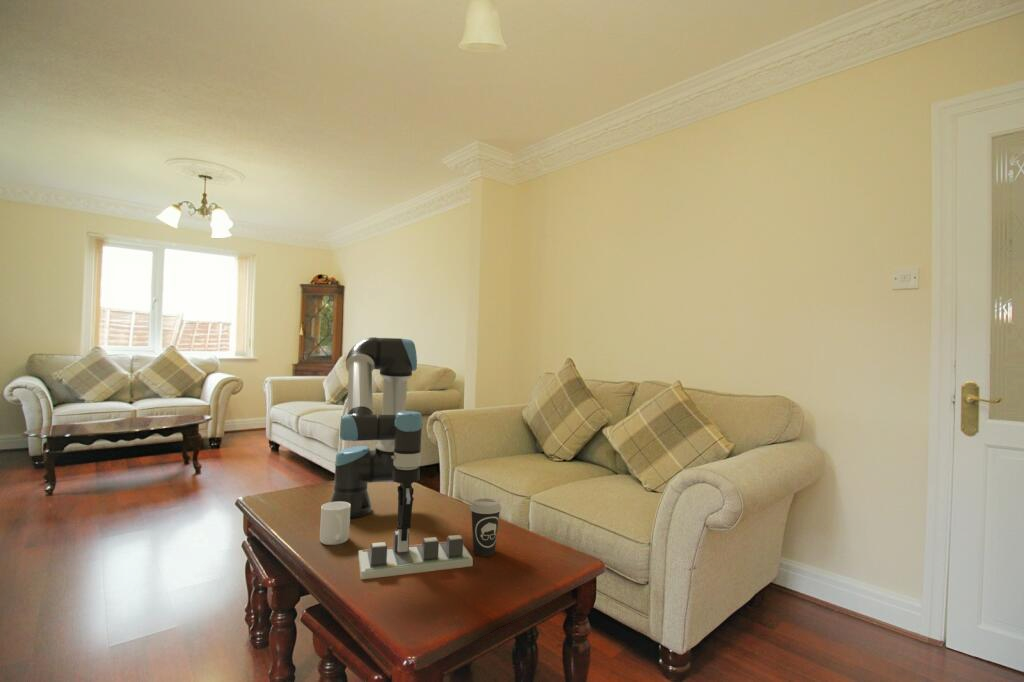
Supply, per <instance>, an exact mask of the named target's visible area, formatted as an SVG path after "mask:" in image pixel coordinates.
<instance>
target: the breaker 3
mask: <svg viewBox="0 0 1024 682" xmlns="http://www.w3.org/2000/svg"><path fill="white" fill-rule="evenodd" d="M421 542H422V543H421V544H422V557H423V559H433V558H438V549H439V542H440V541H439V539H438V538H437V536H434V537H424V538H422V541H421Z"/></svg>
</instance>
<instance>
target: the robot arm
mask: <svg viewBox="0 0 1024 682" xmlns="http://www.w3.org/2000/svg"><path fill="white" fill-rule="evenodd" d="M417 357H418V355H417V348H416V345H415V342H414V341H413V340H412V339H407V338H402V337H401V338H398V337H397V338H396V337H395V338H393V337H391V338H390V337H368V338H367V337H366V338H364V339H362V340H360V341H358V342H357V343H356V344H355V345H353V346H352V347H351V349H350V350H349V351H348V353H347V355H346V359H345V370H346V371H347V373H348V374H347V376H348V380H347V381H348V383H347V414H343V415H341V416H340V425H339V427H340V428H339V438H340V440H341V441H351V442H358V441H359V442H360V441H363V442H365V441H378V442H377V444H376V445H375V447H374V448H375V450H373V449H372V450H370V447H369V446H367V445H359V446H358V445H357V446H351V447H350V446H349V447H346V448H343V449H340V450H339V451H338V452H337V453H336V455H335V462H334V466H335V467H334V468H335V469H334V487H333V492H332V496H331V499H330V500H329V502H348V503H350V505H351V508H350V519H357V518H361V517H365V516H367V515H369V514H370V513H371V511H372V502H371V499H370V495H369V492H368V485H369V484H368V483H390V482H391V483H397V484H399V485H398V486H397V495H398V497H397V522H398V523H397V525H398V526H397V527H396V529H397V530H396V531H398V549H397V550H398V552H406V551H408V538H409V539H410V533H409V532H410V529H411V527H412V526H411V523H412V513H413V511H412V510H413V502H414V496H413V495H414V487H413V485H412V484H413V483H417V482H418V481H419V480H420V476H421V474H420V472H421V471H420V470H421V468H420V466H421V461H422V460H421V455H422V452H421V451H422V449H421V448H422V447H421V446H422V431H423V430H422V429H423V414H422V413H421V412H419V411H414V410H413V411H411V410H407V409H406V405H407V393H408V392H407V391H408V380H409V379H410V378H411V377H412V376H413V372H415V371H416V370H417V368H418V367H417V365H418V358H417ZM374 370H379V375H380V377H382V378H383V385H382V386H383V388H382V404H381V405H382V406H381V414H374V407H373V402H374V401H373V400H374V399H373V398H374V397H373V371H374Z"/></svg>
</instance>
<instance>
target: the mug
mask: <svg viewBox="0 0 1024 682" xmlns="http://www.w3.org/2000/svg"><path fill="white" fill-rule="evenodd" d="M350 508H351V505H350V503H348V502H330V501H329V502H326V503H323V504H322V505H321V507H320V509H321V510H320V525H319V526H320V527H319V528H320V529H319V541H320V543H321V544H323V545H327V546H335V545H336V546H337V545H342V544H343V543H346V542H347V541H348V540H349V538H350V523H351V522H350V521H351V518H350Z"/></svg>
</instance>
